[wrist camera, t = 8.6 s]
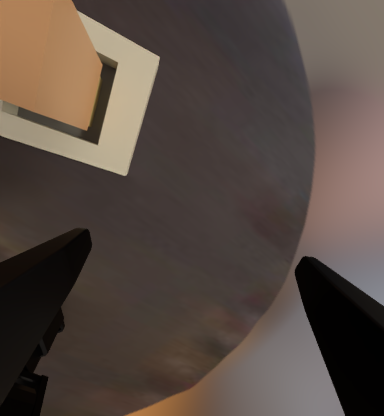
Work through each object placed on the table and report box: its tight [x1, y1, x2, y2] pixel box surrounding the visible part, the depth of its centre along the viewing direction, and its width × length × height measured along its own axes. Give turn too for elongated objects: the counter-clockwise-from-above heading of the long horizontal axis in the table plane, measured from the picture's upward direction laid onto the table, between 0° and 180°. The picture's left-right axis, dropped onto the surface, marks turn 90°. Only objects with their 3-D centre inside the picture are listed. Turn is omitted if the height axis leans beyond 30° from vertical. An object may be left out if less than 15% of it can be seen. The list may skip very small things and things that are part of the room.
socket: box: [0, 11, 160, 176], centre depth 15 cm, size 10×12×2 cm
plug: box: [0, 0, 103, 131], centre depth 11 cm, size 5×5×10 cm
